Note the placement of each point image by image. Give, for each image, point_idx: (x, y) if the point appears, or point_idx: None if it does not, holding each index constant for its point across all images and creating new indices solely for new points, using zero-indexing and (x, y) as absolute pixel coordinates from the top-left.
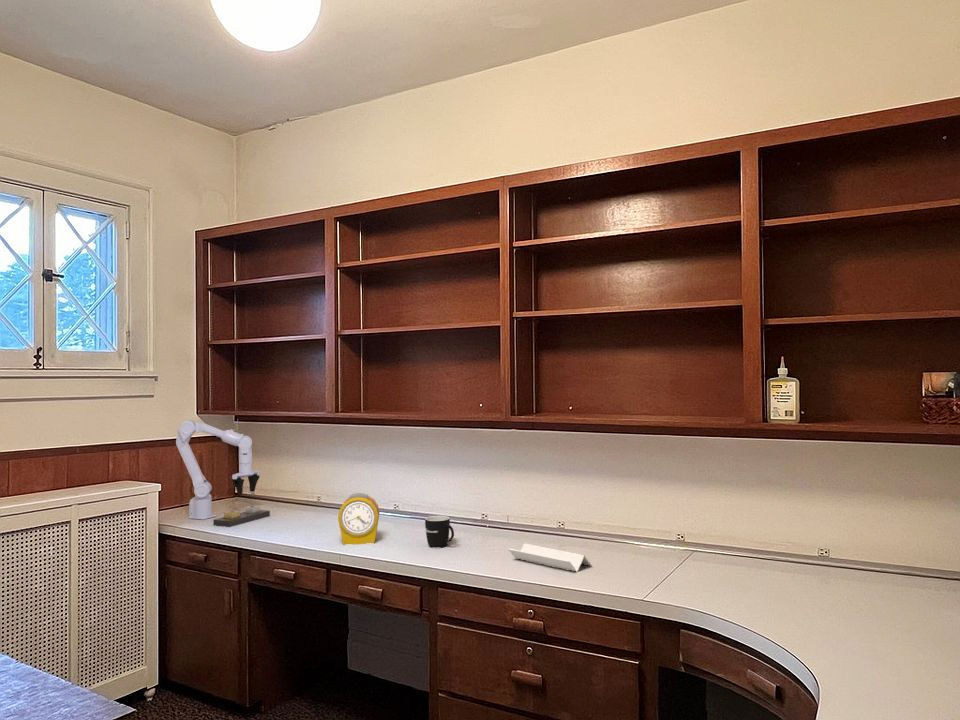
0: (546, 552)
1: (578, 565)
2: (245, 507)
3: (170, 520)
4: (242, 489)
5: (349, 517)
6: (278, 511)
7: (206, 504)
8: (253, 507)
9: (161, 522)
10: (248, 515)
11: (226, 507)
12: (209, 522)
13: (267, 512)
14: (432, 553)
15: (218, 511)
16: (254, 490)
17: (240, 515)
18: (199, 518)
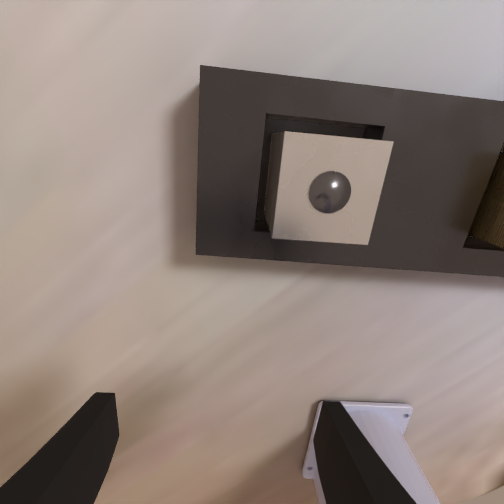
0: None
1: None
2: (370, 233)
3: None
4: (354, 459)
5: None
6: (27, 134)
7: (421, 491)
8: (362, 150)
9: (468, 498)
10: (445, 121)
11: (112, 488)
12: (466, 337)
13: (232, 72)
14: None
15: (206, 462)
16: (92, 402)
17: (448, 193)
18: (407, 423)
